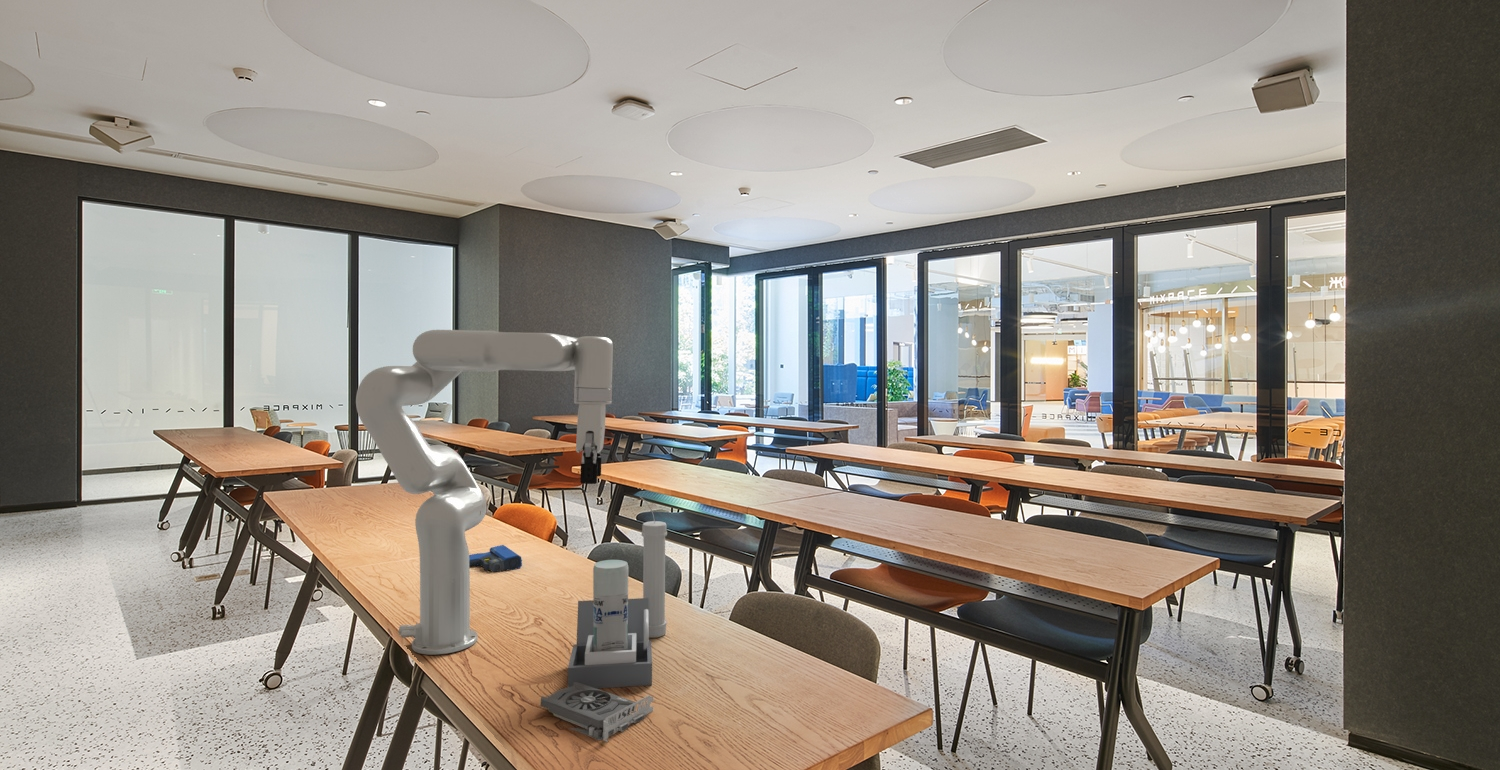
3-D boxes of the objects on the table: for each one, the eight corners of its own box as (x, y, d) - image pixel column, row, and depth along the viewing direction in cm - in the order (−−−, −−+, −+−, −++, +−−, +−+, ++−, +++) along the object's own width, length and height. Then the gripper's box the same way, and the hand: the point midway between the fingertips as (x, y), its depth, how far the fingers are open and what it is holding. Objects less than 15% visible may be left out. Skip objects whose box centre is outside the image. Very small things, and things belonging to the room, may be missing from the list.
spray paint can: (590, 664, 135) (591, 561, 135) (624, 660, 138) (625, 558, 137) (595, 678, 129) (595, 570, 129) (630, 673, 131) (631, 566, 131)
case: (567, 690, 127) (567, 628, 127) (575, 654, 143) (575, 599, 142) (651, 684, 129) (652, 624, 129) (650, 650, 145) (650, 596, 145)
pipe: (661, 639, 151) (662, 499, 150) (634, 637, 152) (634, 498, 152) (669, 630, 156) (670, 495, 156) (643, 627, 158) (643, 494, 157)
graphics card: (658, 694, 119) (606, 721, 109) (657, 717, 119) (606, 746, 109) (587, 671, 128) (534, 694, 118) (587, 692, 128) (534, 717, 118)
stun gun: (468, 567, 196) (522, 553, 205) (454, 554, 208) (505, 542, 217) (470, 581, 196) (523, 567, 205) (456, 568, 209) (507, 556, 218)
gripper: (579, 394, 153) (577, 473, 153) (569, 398, 136) (566, 486, 136) (614, 395, 154) (612, 473, 154) (608, 399, 137) (606, 486, 137)
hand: (591, 479), depth 145 cm, fingers open, 9 cm apart
